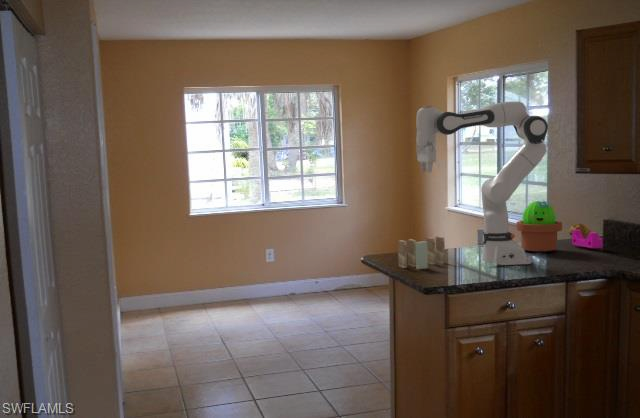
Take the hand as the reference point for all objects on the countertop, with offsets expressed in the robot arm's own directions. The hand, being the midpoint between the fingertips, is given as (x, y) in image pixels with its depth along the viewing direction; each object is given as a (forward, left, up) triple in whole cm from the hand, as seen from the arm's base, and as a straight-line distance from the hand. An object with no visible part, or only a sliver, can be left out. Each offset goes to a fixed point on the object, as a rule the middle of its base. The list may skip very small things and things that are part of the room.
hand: (426, 172), depth 308 cm
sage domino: (+3, +16, -42) cm, 45 cm away
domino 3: (-5, +2, -42) cm, 43 cm away
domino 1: (+8, +10, -42) cm, 44 cm away
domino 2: (-1, +5, -42) cm, 43 cm away
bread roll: (-87, -75, -43) cm, 122 cm away
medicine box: (-32, -48, -43) cm, 72 cm away
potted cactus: (-57, -33, -43) cm, 78 cm away
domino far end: (+12, +12, -42) cm, 46 cm away
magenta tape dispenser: (-82, -42, -43) cm, 102 cm away
